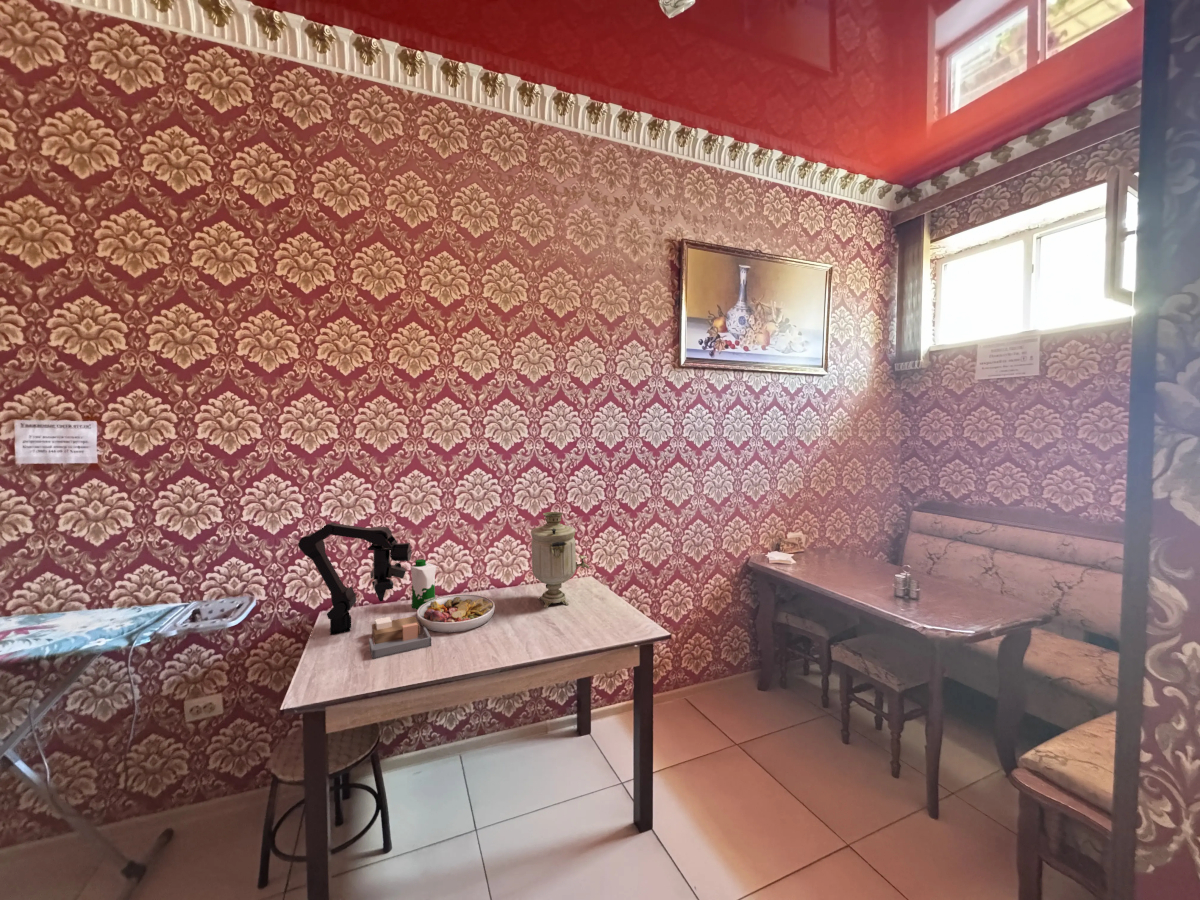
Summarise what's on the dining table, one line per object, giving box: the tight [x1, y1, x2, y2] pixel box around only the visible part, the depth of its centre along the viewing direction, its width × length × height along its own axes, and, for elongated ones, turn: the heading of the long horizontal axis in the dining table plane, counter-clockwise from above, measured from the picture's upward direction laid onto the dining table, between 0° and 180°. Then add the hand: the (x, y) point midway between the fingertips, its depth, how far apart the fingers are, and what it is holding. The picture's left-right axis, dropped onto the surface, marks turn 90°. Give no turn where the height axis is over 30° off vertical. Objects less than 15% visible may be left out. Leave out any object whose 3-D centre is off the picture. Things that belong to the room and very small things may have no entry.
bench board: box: [371, 615, 421, 645], centre depth 174 cm, size 15×10×4 cm, turn 122°
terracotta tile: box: [402, 623, 418, 641], centre depth 170 cm, size 5×5×2 cm
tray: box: [368, 626, 432, 660], centre depth 165 cm, size 19×10×3 cm, turn 122°
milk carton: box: [410, 558, 438, 611], centre depth 200 cm, size 9×9×20 cm
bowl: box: [416, 593, 496, 633], centre depth 189 cm, size 30×30×8 cm
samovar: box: [530, 511, 591, 609], centre depth 207 cm, size 30×26×40 cm
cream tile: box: [374, 616, 392, 630], centre depth 173 cm, size 5×5×2 cm
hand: (381, 601), depth 179 cm, fingers closed
